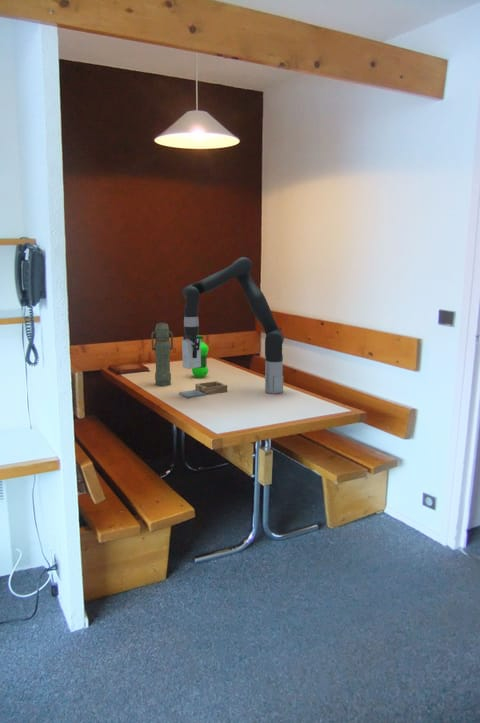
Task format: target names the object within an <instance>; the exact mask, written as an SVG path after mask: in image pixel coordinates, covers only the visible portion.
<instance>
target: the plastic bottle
mask: <svg viewBox="0 0 480 723" xmlns="http://www.w3.org/2000/svg"><path fill="white" fill-rule="evenodd" d="M196 337H197V339H200V340H201V367H197V368H192V369H191V373H192V374H193V376H194V377H195V378H197V377H198V378H197V379H199V378H200V379H202V378H205V377H206V376H207V375H208V373H209V368H208V366H207V363H208V362H207V355H208V353H209V350H210V349H209V348H210V347H209V346H208V345H207V343H205V342H203V340H204V335H201V334H197V335H196Z"/></svg>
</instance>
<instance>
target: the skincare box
mask: <svg viewBox="0 0 480 723" xmlns="http://www.w3.org/2000/svg"><path fill="white" fill-rule="evenodd" d="M191 344H192V345H194V343H193V342H192V341H189V340H184V339H181V349H182V350H181V351H182V354H181V355H182V368H184V369H186V370H192V368H197V367H201V340H200V346H199V350H198V351H197V358H193V350H192V346H191ZM197 348H198V346H197Z"/></svg>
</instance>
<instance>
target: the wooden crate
mask: <svg viewBox="0 0 480 723" xmlns="http://www.w3.org/2000/svg"><path fill="white" fill-rule="evenodd" d="M195 390H197V391H200V392H202V393H204V394H205V396H206V395H213V394H218V393H219V394H220V393H228V385H227V384H225V383H223V382H220V381H218V380H216V381H215V380H213V381H207V382H206V381H205V382H201V383H200V382H199V383H195Z"/></svg>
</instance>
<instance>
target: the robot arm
mask: <svg viewBox="0 0 480 723" xmlns="http://www.w3.org/2000/svg"><path fill="white" fill-rule="evenodd" d="M252 269H253V262H252V260H251V259H250V258H249V257H245V256H241V257H238V258H237V259H236V260H234V262H232V263H231V265H229V266H227V267H225V268H223V269H221V270H219V271H217V272H215V273H213V274H211V275H209V276H207V277H205V278H203V279H201V280H200V281H196V282H194V283H191V284H189V285H187V286H185V287H184V288H183V290H182V291H181V292H182V296H183V298H184V299H185V300H186V303H185V304H186V305H185V306H184V309H183V310H184V311H183V312H184V315H183V316H184V318H183V333H184V335H183V340H189V341H192V342H193V343H194V345H192V344H191V346H192V350H193V358H197V351H198V350H199V346H200V339H197V337H196V336H197V335H200V334H199V325H200V324H199V305H200V297H201V296H200V295H202V294H207V293H209V292H211V291H213V290H215V289H218V288H219V287H220V286H222V285H224V284H225V283H227V282H229V281H230V280H232V279H235V278H236V279H237V281H238V284H239V285H240V286H241V289H242V291H243V293H244V296H245V298H246V300H247V303H248V305H249V307H250V309H251V311H252V313H253V315H254V316H255V318H256V319H257V320H258V322H259V323H260V324H261V326H262V328H263V330H264V334H265V338H264V356H265V362H264V363H265V366H264V367H265V371H264V372H265V373H264V374H265V376H264V391H265V393H267V394H273V395H276V394H283V392H284V375H283V363H284V362H283V361H284V360H283V359H284V356H283V343H284V340H285V338H284V335H283V333H282V331H281V329H280V327H279V326H278V324H277V322H276V321H275V319H274V315H273V313H272V311H271V308H270V306H269V303H268V301H267V299H266V297H265V295H264V293H263V292H262V290H261V288H259V287H258V285H257V284H256V283H255V282H254V279H253V278H252V276H251V271H252ZM197 346H198V348H197Z"/></svg>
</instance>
